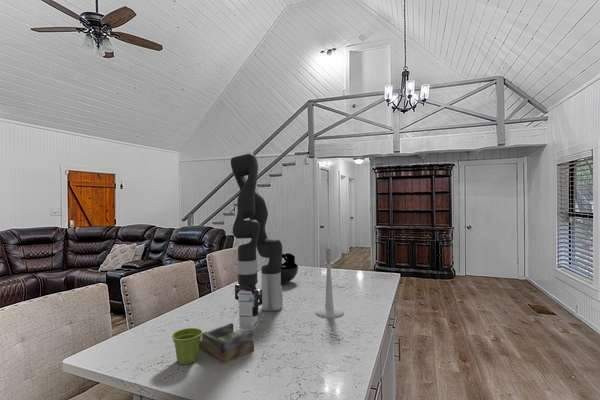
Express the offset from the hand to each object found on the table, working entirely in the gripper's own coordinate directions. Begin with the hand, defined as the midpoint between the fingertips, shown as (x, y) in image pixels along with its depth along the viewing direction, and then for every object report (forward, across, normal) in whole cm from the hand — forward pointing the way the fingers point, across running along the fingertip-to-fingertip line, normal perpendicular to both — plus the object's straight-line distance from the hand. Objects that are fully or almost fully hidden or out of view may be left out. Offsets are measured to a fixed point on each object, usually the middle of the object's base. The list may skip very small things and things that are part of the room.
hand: (248, 313), depth 123 cm
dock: (+7, -2, +14) cm, 16 cm away
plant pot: (+8, -1, +26) cm, 27 cm away
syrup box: (+5, 0, 0) cm, 5 cm away
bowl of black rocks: (+9, +45, -63) cm, 78 cm away
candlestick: (+9, -10, -38) cm, 40 cm away
